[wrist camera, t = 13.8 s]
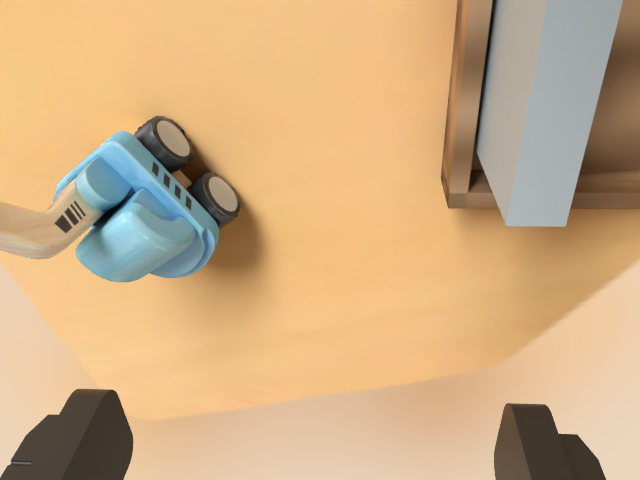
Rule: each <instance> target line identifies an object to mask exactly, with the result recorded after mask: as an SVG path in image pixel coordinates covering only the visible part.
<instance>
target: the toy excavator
mask: <svg viewBox="0 0 640 480" xmlns="http://www.w3.org/2000/svg"><path fill="white" fill-rule="evenodd" d="M181 131H182V132H184V131H183V129H182V128H181V127H180V126H178V125H177V124H176V123H174V122H173V121H172V120H171V119H168V118H166V117H164V116H156V117H153V118H152V119H151V120H149V121H147V123H145V124H144V125H143V126H141V127H139V128H138V131H137V132H135V134H134V136H133V135H132V134H130V133H129V132H126V131H119V132H117V133H115V134H114V135H112V136H111V137H110V138H109V139H108V140H106V141H105V142H104V143H103V144H102V145H101V146H99V147H98V148H97V149H96V150H95V151H94V152H92V153H91V154H90V155H89V156H88V157H87V158H85V159H84V160H83V161H82V162H81V163H79V164H78V165H77V166H76V167H75V168H74V169H73V170H71V171H70V172H69V173H68V174H67V175H66V176H65V177H64V178H63V179H62V180H61V181H60V182H59V183H58V184H57V186H56V194H55V196H54V198H53V204H52V205H51V206H50V207H49V208H48V209H47V210H46V211H45V212H35V211H31V210H28V209H25V208H21V207H18V206H14V205H10V204H7V203H3V202H0V250H2V251H5V252H8V253H11V254H15V255H19V256H23V257H27V258H31V259H46V258H50V257H53V256H55V255H57V254H58V253H60V252H61V251H62V250H64V249H65V248H66V247H67V246H69V245H70V244H71V243H72V242H73V241H74V240H76V239H77V238H78V237H79V236H80V235H81V234H83V233H84V232H85V231H86V230H87V229H88V228H89V227H90V226H91V227H93V228H92V230H91V231H90V232H89V233H88V234H87V235H86V236H85V238H84V239H83V240H82V241H81V243H80V244H79V245H78V246H77V249H76V256H77V258H78V260H79V261H80V262H81V263H82V264H83V265H84V266H85V267H86V268H88V269H89V270H90V271H92V272H93V273H94V274H96V275H97V276H99V277H101V278H103V279H106V280H109V281H114V282H131V281H135V280H138V279H140V278H142V277H144V276H145V275H147V274H148V273H150V274H153V275H156V276H160V277H164V278H176V277H184V276H187V275H190V274H192V273H195V272H196V271H198V270H200V269H201V268H202V267H204V266H205V265H206V264H207V262H208V261H209V260H210V258H211V256H212V254H213V252H214V250H215V248H216V246H217V243H218V240H219V229H220V228H222V227H223V226H225V225H226V224H228V223H229V222H231V221H232V220H233V219H235V218H236V217H237V216H238V214H237V213H238V212H239V210H240V207H241V206H240V201H239V198H238V195H237V194H236V192H235V190H234V188H232V187H230V186H229V185H228V184H227V183H226V182H225V181H224V180H222V179H221V178H220V177H219V176H218V174H216V173H212V172H207V173H205V174H204V175H203V176H201V177H200V178H199V179H198V180H196V181H195V182H194V183H192V182H191V181H190V180H189V179H188V178H187V177H186V176H185V175H184V174H183V173H182V172H181V171H180V169H182V168H183V167H185V166H186V165H187V164H188V162H189V161H190V160H191V159H192V158H193V157H194V151H193V148H192V146H191V143H190V140H189V139H188V140H186V138H185V137H184V135H183V134H182V132H181Z"/></svg>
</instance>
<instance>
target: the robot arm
mask: <svg viewBox="0 0 640 480" xmlns="http://www.w3.org/2000/svg"><path fill="white" fill-rule="evenodd" d="M132 451H133V435H132V432H131V430H130V426H129V424H128V421H127V418H126V416H125V413H124V410H123V408H122V405H121V402H120V400H119V397H118V395H117V393H116V391H114V390H102V389H77V390H75V391H74V392H73V393H72V394H71V395H70V397H69V398H68V400H67V402H66V404H65V406H64V407H63V409H62V411H61V412H60V414H59V415H47V416H46V417H45V418H44V419H43V420H42V421H41V422H40V423H39V424H38V425H37V426H36V427H35V428H34V429H33V430H31V431H30V432H29V433H28V434H27V435H26V437H25V438H24V440H23V442H22V443H21V445H20V446H19V448H18V450H17V451H16V453H15V455H14V456H13V458H12V459H11V464H10V465H8V466H7V468H6V469H5V471H4V473H3V474H2V476H1V478H0V480H123V479H124V476H125V474H126V471H127V469H128V467H129V464H130V460H131V457H132ZM494 468H495V477H496V480H606V478H605V476H604V473H603V471H602V468H601V466H600V463H599V460H598V459H597V458H596V456H595V455H594V454H593V453H592V452H591V450H590V449H589V448H588V447H587V446H586V445H585V443H584V442H583V441H582V440H581V439H580V438H579V436H578V435H572V434H558V431H557V429H556V426H555V423H554V420H553V417H552V414H551V411H550V410H549V408H548V407H547V406H546V405H542V404H510V403H507V404H506V405H505V407H504V411H503V415H502V420H501V424H500V428H499V433H498V437H497V442H496V446H495V452H494Z"/></svg>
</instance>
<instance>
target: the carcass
mask: <svg viewBox="0 0 640 480" xmlns="http://www.w3.org/2000/svg"><path fill="white" fill-rule="evenodd" d="M492 2H493V0H458V4H457V14H456V24H455V35H454V45H453V56H452V66H451V77H450V87H449V98H448V108H447V119H446V129H445V140H444V150H443V161H442V171H441V181H442V185H443V189H444V193H445V197H446V201H447V205H448V208H499V207H498V205H497V202H496V200H495V197H494V195H493V192H492V190H491V187H490V185H489V182H488V180H487V177H486V175H485V172H484V170H483V167H482V164H481V162H480V159H479V157H478V154H477V152H476V149H475V147H474V141H475V133H476V126H477V118H478V110H479V102H480V95H481V87H482V79H483V71H484V64H485V56H486V48H487V40H488V33H489V25H490V17H491V9H492ZM570 209H640V0H623V3H622V7H621V11H620V15H619V19H618V23H617V27H616V31H615V35H614V39H613V43H612V47H611V50H610V54H609V58H608V62H607V66H606V70H605V74H604V78H603V82H602V86H601V90H600V94H599V98H598V102H597V105H596V109H595V113H594V117H593V121H592V125H591V129H590V133H589V137H588V141H587V145H586V149H585V153H584V157H583V160H582V164H581V168H580V172H579V176H578V180H577V184H576V188H575V192H574V196H573V200H572V204H571V208H570Z"/></svg>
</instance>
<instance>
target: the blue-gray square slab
mask: <svg viewBox="0 0 640 480" xmlns="http://www.w3.org/2000/svg"><path fill="white" fill-rule="evenodd" d="M622 3H623V0H493V2H492V9H491V17H490V25H489V33H488V40H487V48H486V56H485V64H484V71H483V79H482V87H481V95H480V102H479V110H478V118H477V126H476V133H475V141H474V147H475V149H476V152H477V154H478V157H479V159H480V162H481V164H482V167H483V170H484V172H485V175H486V177H487V180H488V182H489V185H490V187H491V190H492V192H493V195H494V197H495V200H496V202H497V205H498V207H499V210H500V212H501V215H502V217H503V220H504V222H505V225H506V226H539V227H566V223H567V219H568V215H569V212H570V208H571V204H572V200H573V196H574V192H575V188H576V184H577V180H578V176H579V172H580V168H581V164H582V160H583V157H584V153H585V149H586V145H587V141H588V137H589V133H590V129H591V125H592V121H593V117H594V113H595V109H596V105H597V102H598V98H599V94H600V90H601V86H602V82H603V78H604V74H605V70H606V66H607V62H608V58H609V54H610V50H611V47H612V43H613V39H614V35H615V31H616V27H617V23H618V19H619V15H620V11H621V7H622Z"/></svg>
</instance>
